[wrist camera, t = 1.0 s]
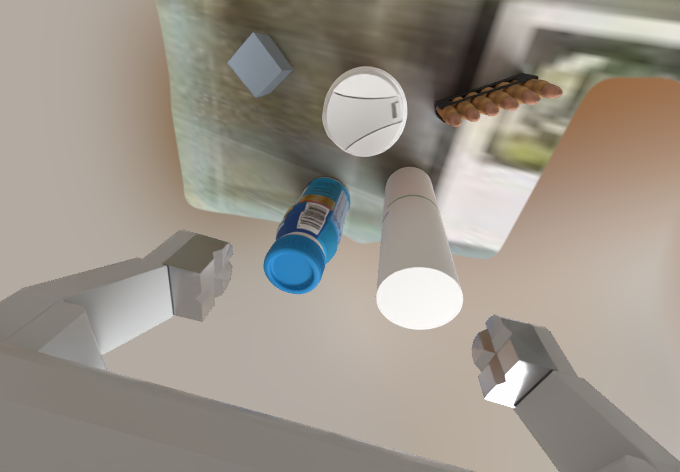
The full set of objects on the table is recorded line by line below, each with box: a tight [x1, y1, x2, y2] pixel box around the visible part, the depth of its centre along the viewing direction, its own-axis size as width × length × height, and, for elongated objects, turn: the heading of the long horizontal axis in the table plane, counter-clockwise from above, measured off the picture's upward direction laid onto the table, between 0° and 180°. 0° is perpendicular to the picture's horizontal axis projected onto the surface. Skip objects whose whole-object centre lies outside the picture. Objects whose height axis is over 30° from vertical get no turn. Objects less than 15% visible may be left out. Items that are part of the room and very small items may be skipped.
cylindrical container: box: [376, 167, 463, 330], centre depth 35 cm, size 7×7×25 cm
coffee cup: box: [322, 66, 407, 157], centre depth 33 cm, size 8×8×15 cm
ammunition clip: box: [435, 73, 563, 127], centre depth 33 cm, size 11×2×12 cm, turn 109°
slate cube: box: [227, 32, 294, 98], centre depth 38 cm, size 5×5×5 cm
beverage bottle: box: [264, 177, 350, 294], centre depth 41 cm, size 8×8×20 cm
